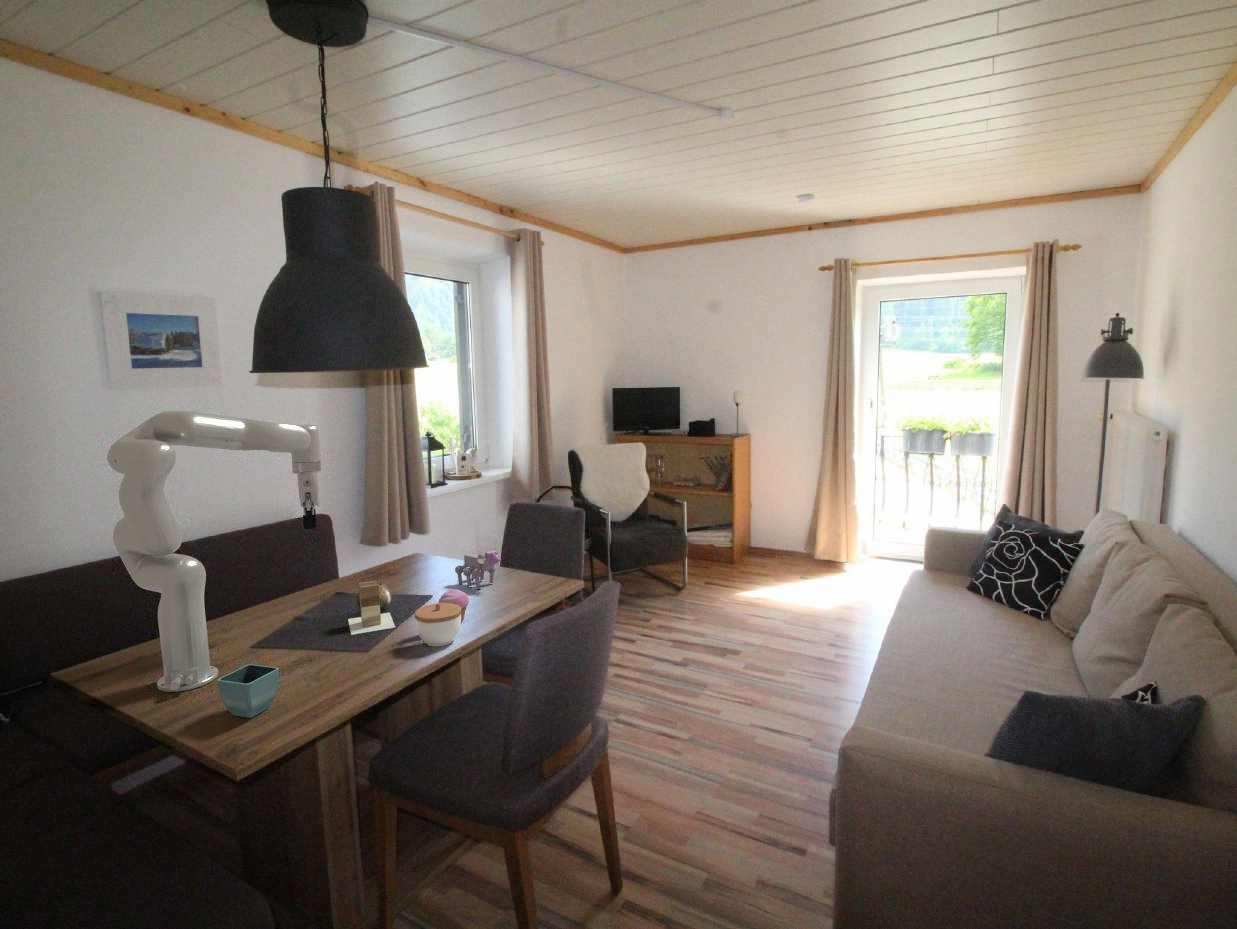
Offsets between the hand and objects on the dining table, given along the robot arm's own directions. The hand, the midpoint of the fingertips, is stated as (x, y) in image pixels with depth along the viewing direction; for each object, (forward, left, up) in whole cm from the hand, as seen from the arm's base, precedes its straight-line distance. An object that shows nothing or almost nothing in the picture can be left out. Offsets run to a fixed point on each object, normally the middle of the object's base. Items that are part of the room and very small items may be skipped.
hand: (310, 525), depth 192 cm
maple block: (-8, -14, -30) cm, 34 cm away
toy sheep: (+16, -54, -31) cm, 64 cm away
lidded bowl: (-29, -30, -31) cm, 52 cm away
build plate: (-8, -14, -31) cm, 35 cm away
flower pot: (-50, +15, -31) cm, 61 cm away
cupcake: (-16, -37, -31) cm, 51 cm away
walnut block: (-8, -14, -24) cm, 29 cm away
